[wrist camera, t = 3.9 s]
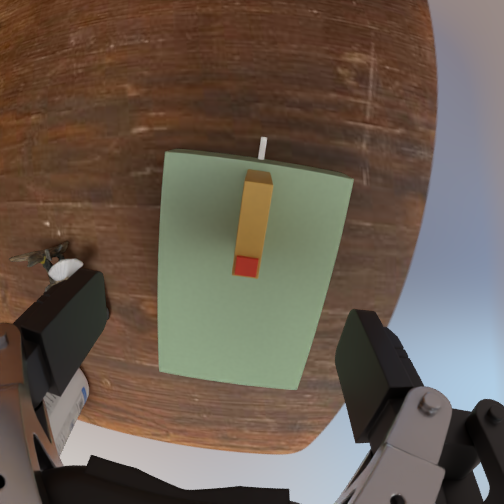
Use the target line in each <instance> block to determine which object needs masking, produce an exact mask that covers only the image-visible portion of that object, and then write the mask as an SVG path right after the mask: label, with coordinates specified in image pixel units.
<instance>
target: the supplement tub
mask: <svg viewBox="0 0 504 504" xmlns="http://www.w3.org/2000/svg"><path fill="white" fill-rule="evenodd" d="M88 395H89V386H88V382H87V380H86V377H85V375H84V374H83V372H82V371H81V369H80V368H78V370H77V371H76V373H75V375H74V376H73V378H72V379H71V381H70V383H69V384H68V386H67V387H66V389H65V391H64V392H63V394H62V396H61V397H59V396H57V395H54V394H51V393H49V392H47V393H46V395H45V396H44V401H45V404H46V408H47V413H48V417H49V421H50V426H51V430H52V434H53V438H54V441H55V445H56V449H57V452H58V455H59V457H60V454H61V452H62V450H63V448H64V446H65V444H66V442H67V439H68V437H69V435H70V433H71V431H72V429H73V427H74V424H75V422H76V420H77V418H78V416H79V414H80V412H81V410H82V408H83V406H84V404H85V402H86V400H87V398H88Z"/></svg>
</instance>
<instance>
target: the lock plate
mask: <svg viewBox="0 0 504 504" xmlns="http://www.w3.org/2000/svg"><path fill="white" fill-rule="evenodd" d="M266 143H267V137H261V142H260V149H259V155H258V158H254V157H247V156H239V155H232V154H224V153H215V152H206V151H197V150H187V149H173V150H170V151H166V152H165V159H164V169H163V181H162V194H161V209H160V227H159V251H158V354H159V371H160V372H165V373H170V374H176V375H181V376H187V377H193V378H199V379H205V380H211V381H218V382H225V383H233V384H241V385H249V386H258V387H268V388H279V389H292V390H297V388H298V385H299V382H300V379H301V376H302V373H303V370H304V367H305V364H306V361H307V357H308V354H309V351H310V348H311V345H312V341H313V338H314V335H315V332H316V328H317V325H318V322H319V318H320V315H321V311H322V308H323V304H324V301H325V297H326V294H327V290H328V286H329V283H330V279H331V275H332V271H333V267H334V264H335V260H336V256H337V252H338V248H339V244H340V239H341V235H342V231H343V227H344V222H345V218H346V214H347V209H348V205H349V200H350V195H351V191H352V186H353V181H354V179H352V178H350V177H349V176H347V175H345V174H343V173H340V172H335V171H330V170H325V169H320V168H315V167H309V166H304V165H298V164H292V163H286V162H280V161H274V160H267V159H264V156H265V149H266ZM248 169H251V170H258V171H264V172H270V174H271V178H272V182H273V192H272V198H271V204H270V211H269V217H268V223H267V229H266V235H265V241H264V247H263V253H262V259H261V265H260V270H259V276H258V279H254V278H247V277H240V276H233V275H232V268H233V260H234V252H235V245H236V237H237V230H238V223H239V215H240V208H241V201H242V194H243V187H244V181H245V177H246V174H247V170H248Z"/></svg>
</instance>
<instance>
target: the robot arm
mask: <svg viewBox="0 0 504 504" xmlns="http://www.w3.org/2000/svg"><path fill="white" fill-rule="evenodd" d="M106 319H107V310H106V299H105V287H104V277H103V274H102V273H101V272H99V271H94V270H89V269H84V268H80V269H78V270H77V271H76V272H75V273H74V274H73V275H71V276H70V277H69V278H68V279H67V280H63V281H61V282H59V283H57V284H55V285H53V286H51V287H50V288H49V289H48V290H47V291H46V292H45V293H44V295H43V296H41V297H40V298H39V299H38V300H37V302H34V303H33V304H32V305H31V306H30V307H29V308H28V309H27V310H26V311H25V312H24V313H23V314H22V315H21V316H20V317H19V318H18V319H17V320H16V321H15V322H14V323H13V324H10V323H0V504H299V503H296V502H293V501H290V500H289V489H275V488H274V489H273V488H256V487H243V486H236V487H227V488H216V489H201V490H184V489H181V488H178V487H176V486H173V485H171V484H169V483H167V482H164V481H162V480H160V479H158V478H155V477H153V476H151V475H149V474H147V473H145V472H143V471H141V470H139V469H137V468H134V467H130V466H126V465H122V464H119V463H116V462H112V461H109V460H106V459H103V458H100V457H97V456H94V455H91V457H90V459H89V462H88V464H87V466H74V465H73V466H63V464H62V462H61V460H60V457H59V455H58V452H57V449H56V445H55V441H54V438H53V434H52V430H51V426H50V421H49V417H48V413H47V408H46V404H45V401H44V396H45V395H46V393H47V392H49V393H51V394H54V395H57V396H59V397H61V396H62V394H63V392H64V391H65V389H66V387H67V386H68V384H69V383H70V381H71V379H72V378H73V376H74V375H75V373H76V371H77V370H78V368H79V367H80V365H81V363H82V362H83V360H84V359H85V357H86V356H87V354H88V353H89V351H90V349H91V348H92V346H93V345H94V343H95V342H96V340H97V339H98V337H99V336H100V334H101V333H102V331H103V330H104V327H105V324H106ZM335 365H336V369H337V373H338V376H339V380H340V384H341V387H342V391H343V395H344V399H345V403H346V407H347V410H348V415H349V419H350V422H351V427H352V431H353V434H354V439H355V443H370V446H371V449H370V451H369V452H368V453H367V455H366V457H365V458H364V460H363V461H362V463H361V465H360V466H359V468H358V470H357V471H356V473H355V474H354V476H353V477H352V479H351V480H350V482H349V483H348V485H347V486H346V488H345V489H344V491H343V492H342V494H341V495H340V497H339V498H338V499H337V501H336V502H335V503H334V504H504V406H503V405H502V404H500V403H499V402H497V401H494V400H491V399H483V400H481V401H479V402H478V404H477V405H476V406H475V408H474V409H473V410H472V412H470V411H463V410H458V409H452V407H451V404H450V402H449V400H448V399H447V398H446V397H445V396H444V395H443V394H442V393H441V392H439V391H437V390H436V389H433V388H430V387H425V386H424V385H423V383H422V381H421V379H420V377H419V375H418V373H417V371H416V369H415V368H414V366H413V364H412V362H411V360H410V359H409V358H408V355H407V353H406V351H405V350H403V346H402V344H401V342H400V340H399V339H398V337H397V336H396V335H395V334H394V333H393V332H392V331H391V330H389V329H388V328H387V327H383V325H382V323H381V321H380V319H379V318H378V316H377V314H376V312H374V311H367V310H357V309H352V310H351V311H350V313H349V315H348V318H347V320H346V323H345V326H344V329H343V332H342V335H341V338H340V340H339V343H338V346H337V349H336V355H335ZM480 462H481V464H482V466H483V469H484V471H485V474H486V477H487V479H488V482H489V485H490V490H489V495H488V497H487V498H486V500H485V501H484V502H483V499H482V496H481V493H480V490H479V487H478V484H477V481H476V479H475V476H474V473H473V469H474V468H475V467H476V466H477V465H478V464H479V463H480Z"/></svg>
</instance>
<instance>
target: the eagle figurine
mask: <svg viewBox="0 0 504 504" xmlns="http://www.w3.org/2000/svg"><path fill="white" fill-rule="evenodd" d="M68 243H69V242H67V241H66V242H64V243H63V244H59V246H57V247H52V248H48V249H44V250H41V251H35V252H30V253H26V254H22V255H18V256H14V257H11V258H9V260H10V261H11V262H13V261H16V262H19V261H28V267H31V266H33V265H35V264H37V263H42V264H43V267H44V268H45V269H46V271H47V273H48V276H49V279H50V285H48V286H47V287H46V288H45V292H46V291H47V290H48V289H49V288H50V287H51V286H53V285H55V284H57V283H59V282H61V281H63V280H67V279H68V278H69V277H70V276H71V275H73V274H74V273H75V272H76V271H77V270H78V269H79V268H80V267H82V266H83V263H82V262H81V261H79V260H78V259H77V258H73V259H65V257H64V255H63V254H62V253H64V252H65V251H66V248H67V245H68ZM56 256H57V257H58V258H59V262H58V263H56V264H55V265H54V266H53V264H52V263H51V262H50V261H51V260H52V257H56ZM49 260H50V261H49ZM45 292H44V293H45ZM106 310H107V319H106V320H108V319H109V311H108V308H106ZM106 322H107V321H106Z"/></svg>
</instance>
